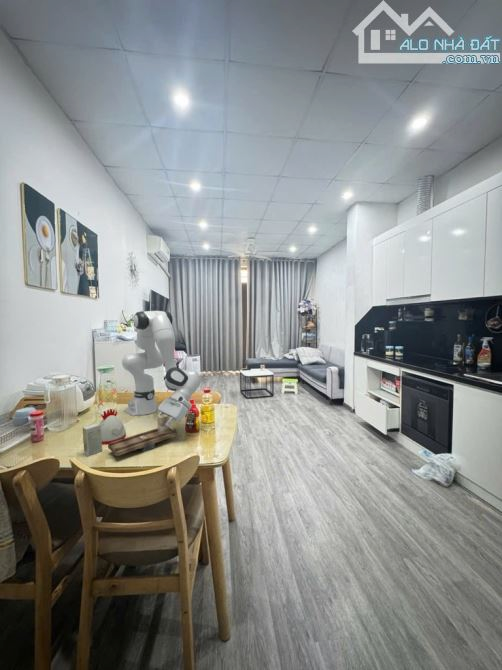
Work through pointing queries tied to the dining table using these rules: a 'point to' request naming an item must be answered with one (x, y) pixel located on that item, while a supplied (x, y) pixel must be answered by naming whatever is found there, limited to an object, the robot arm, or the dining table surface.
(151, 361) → the robot arm
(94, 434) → the skincare box
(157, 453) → the dining table surface
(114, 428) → the grey crested helmet
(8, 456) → the dining table surface
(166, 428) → the rider block
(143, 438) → the balance beam
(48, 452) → the dining table surface
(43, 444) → the dining table surface
